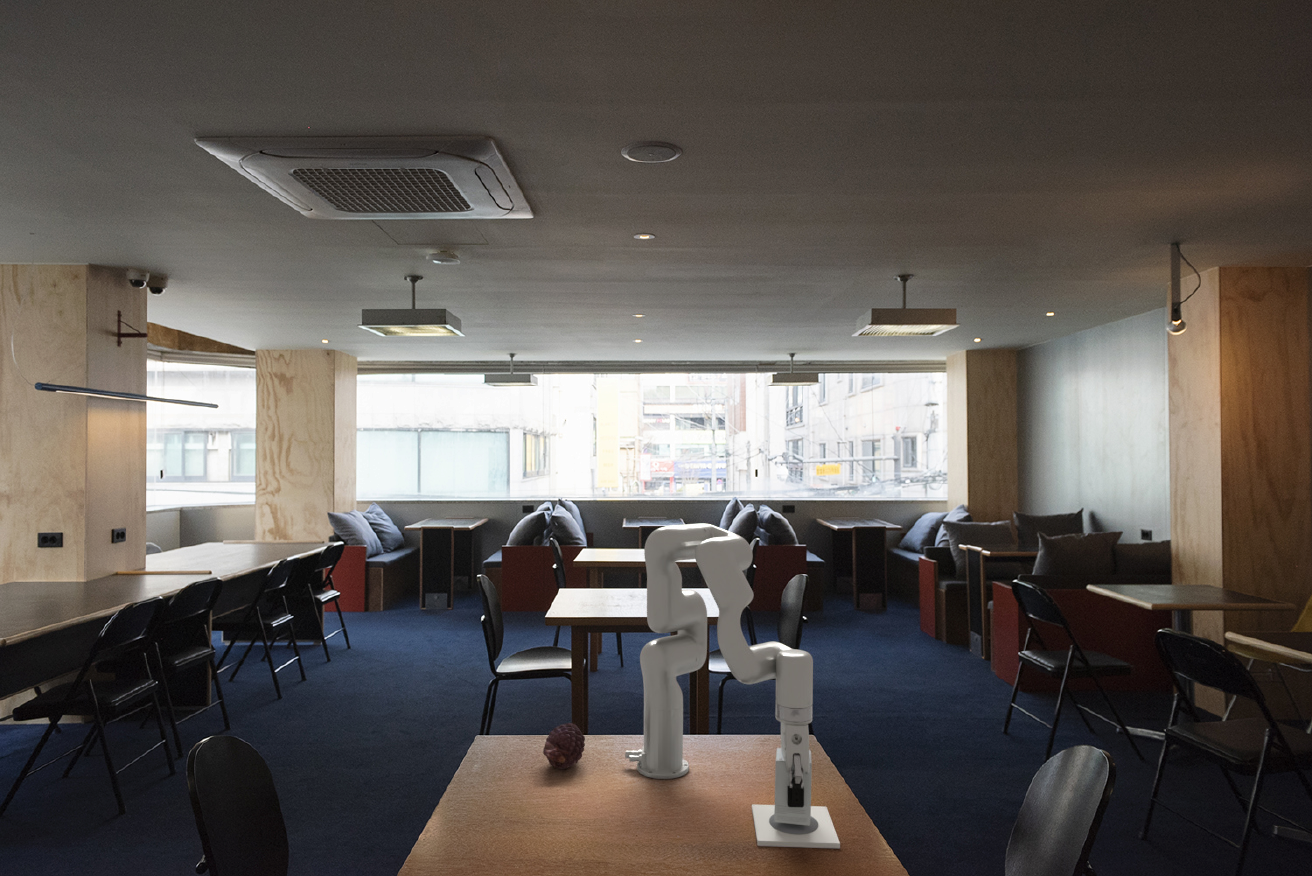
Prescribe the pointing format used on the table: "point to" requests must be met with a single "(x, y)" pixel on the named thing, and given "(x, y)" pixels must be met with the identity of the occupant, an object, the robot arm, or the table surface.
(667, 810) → the table surface
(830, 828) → the mat
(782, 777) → the supplement box
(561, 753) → the pine cone
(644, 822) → the table surface
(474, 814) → the table surface
